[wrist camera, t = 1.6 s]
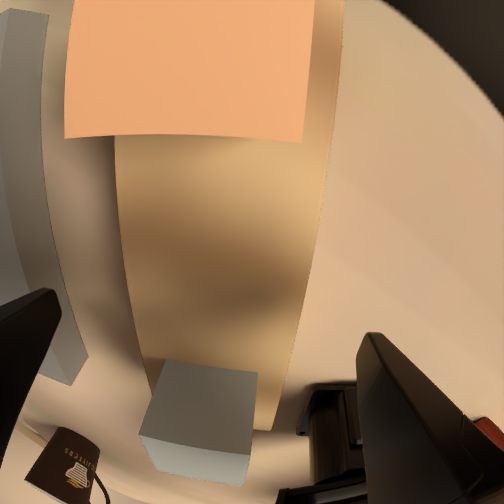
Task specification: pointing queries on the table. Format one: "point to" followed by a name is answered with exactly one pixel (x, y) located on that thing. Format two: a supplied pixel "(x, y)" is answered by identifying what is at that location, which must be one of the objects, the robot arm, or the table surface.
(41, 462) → the coffee mug
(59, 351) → the dock
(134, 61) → the orange cube
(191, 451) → the grey cube
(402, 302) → the table surface
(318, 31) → the wooden block
